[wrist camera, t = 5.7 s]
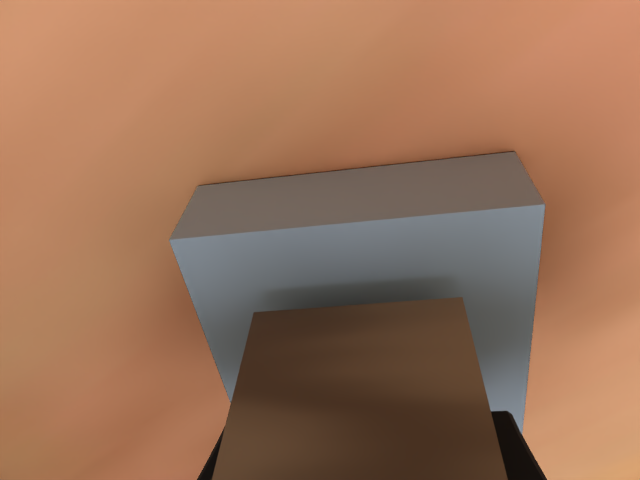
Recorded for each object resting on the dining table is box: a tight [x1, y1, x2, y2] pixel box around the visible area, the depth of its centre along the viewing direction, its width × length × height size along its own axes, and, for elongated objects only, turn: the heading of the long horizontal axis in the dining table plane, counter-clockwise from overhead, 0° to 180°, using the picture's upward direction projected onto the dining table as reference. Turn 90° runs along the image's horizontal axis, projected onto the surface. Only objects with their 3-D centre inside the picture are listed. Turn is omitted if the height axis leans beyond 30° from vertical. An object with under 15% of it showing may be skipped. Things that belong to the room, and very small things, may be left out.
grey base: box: [169, 152, 545, 434], centre depth 14 cm, size 8×8×2 cm
